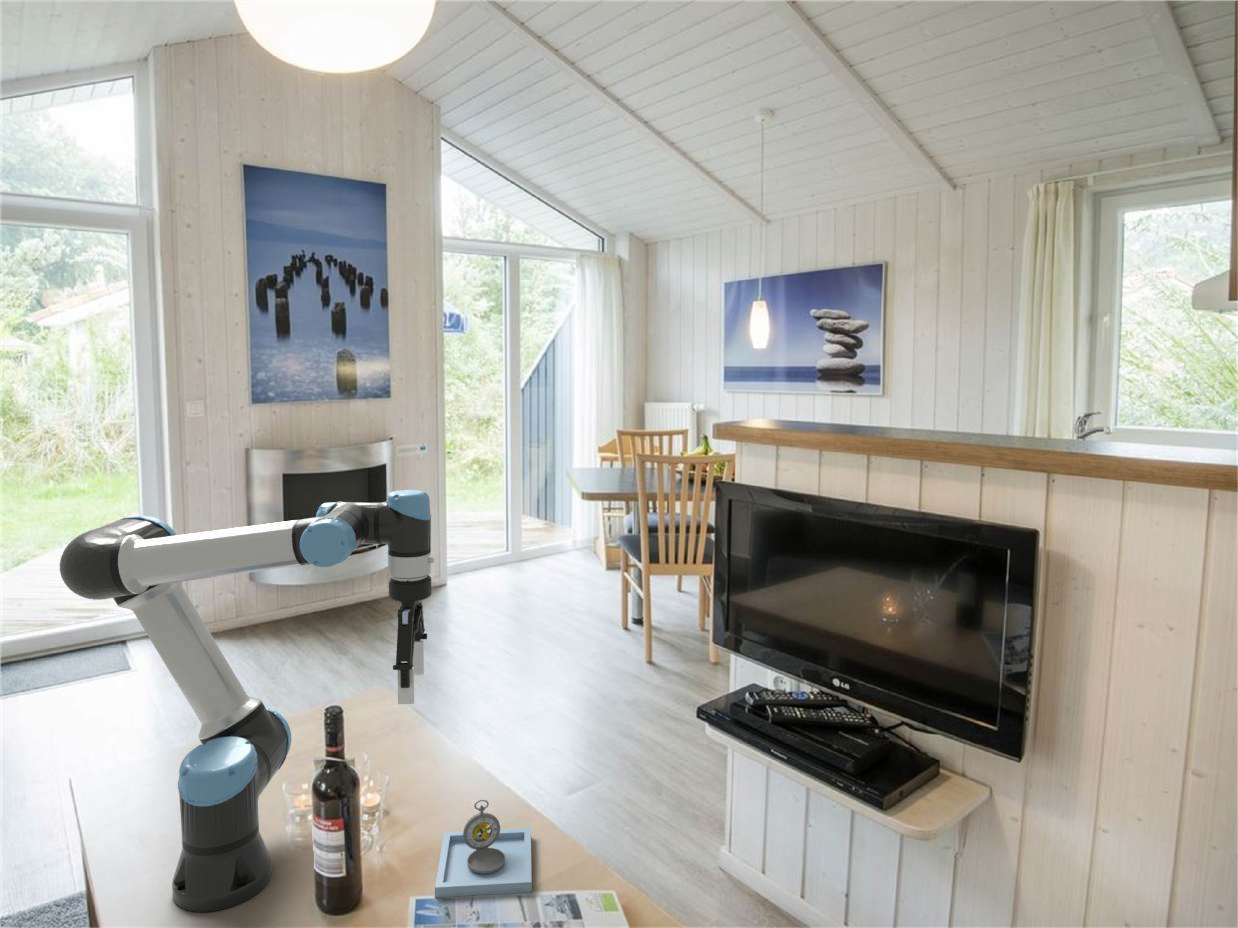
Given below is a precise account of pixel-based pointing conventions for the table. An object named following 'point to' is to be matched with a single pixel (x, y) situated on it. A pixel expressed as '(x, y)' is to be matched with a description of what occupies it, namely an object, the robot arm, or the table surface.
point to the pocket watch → (483, 842)
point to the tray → (507, 879)
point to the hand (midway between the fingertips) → (411, 688)
